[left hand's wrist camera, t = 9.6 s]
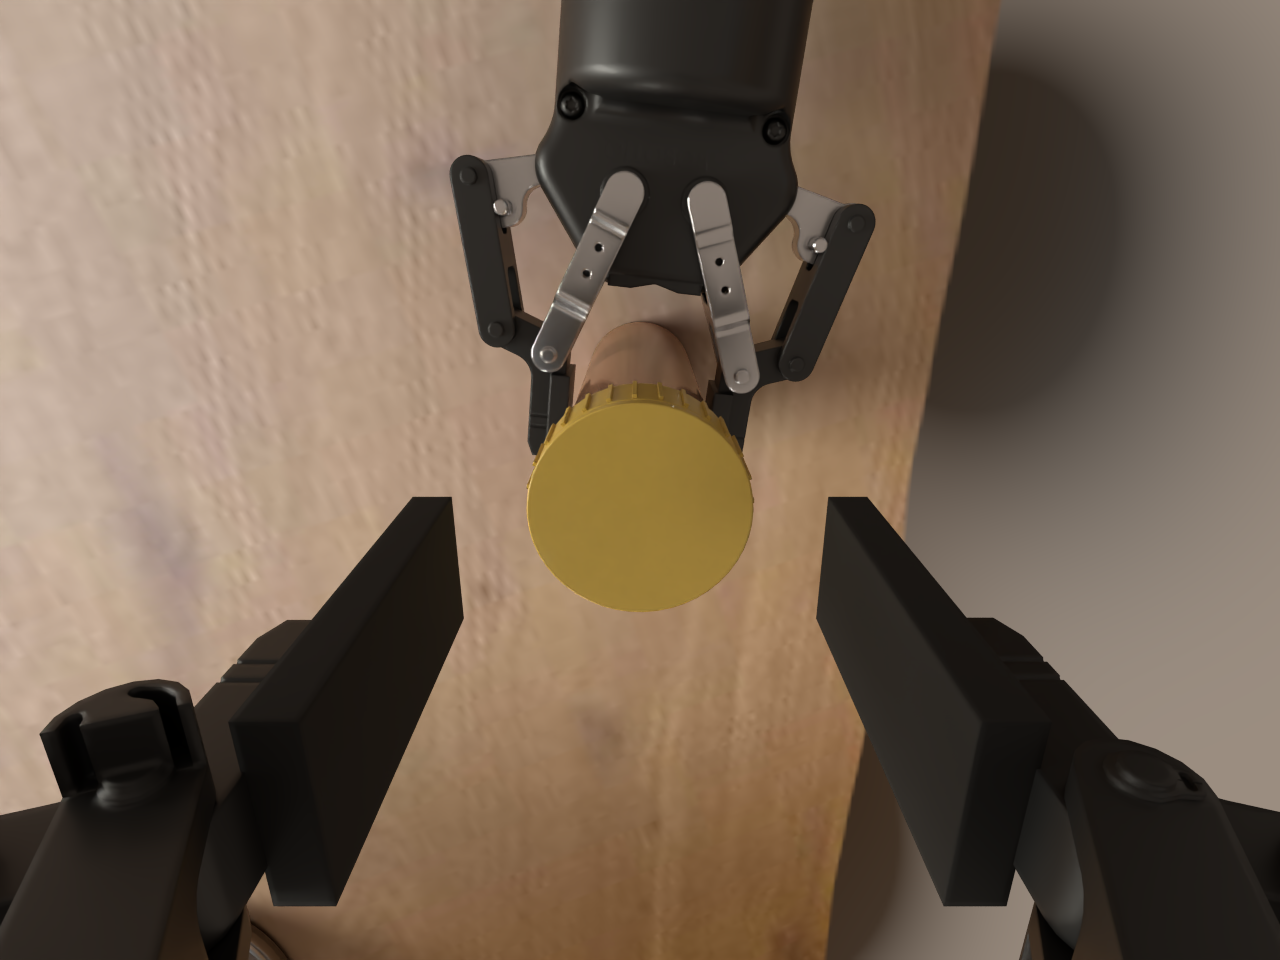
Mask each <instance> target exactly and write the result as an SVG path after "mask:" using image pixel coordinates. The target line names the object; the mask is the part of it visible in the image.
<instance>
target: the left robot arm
mask: <svg viewBox="0 0 1280 960" xmlns="http://www.w3.org/2000/svg"><path fill="white" fill-rule="evenodd" d="M463 619H464V616H463V606H462V596H461V586H460V576H459V566H458V556H457V546H456V536H455V526H454V516H453V506H452V497H412V499H411V500H410V501H409V502H408V503H407V505H406V506H405V507H404V508H403V510H402V511H401V512H400V513H399V514H398V516H397V517H396V518H395V519H394V520H393V522H392V523H391V524H390V525H389V527H388V528H387V529H386V530H385V531H384V533H383V534H382V535H381V536H380V537H379V539H378V540H377V541H376V542H375V544H374V545H373V546H372V547H371V548H370V550H369V551H368V552H367V553H366V555H365V556H364V557H363V558H362V559H361V561H360V562H359V563H358V564H357V565H356V567H355V568H354V569H353V570H352V572H351V573H350V574H349V575H348V576H347V578H346V579H345V580H344V581H343V582H342V584H341V585H340V586H339V587H338V589H337V590H336V591H335V592H334V593H333V595H332V596H331V597H330V598H329V599H328V601H327V602H326V603H325V604H324V606H323V607H322V608H321V609H320V610H319V612H318V613H317V614H316V615H315V617H314V618H313V619H312V620H286V621H285V622H283V623H282V624H280V625H278V626H277V627H275V628H273V629H272V630H270V631H269V632H267V633H265V634H264V635H262V636H260V637H259V638H257V639H256V640H255V641H254V642H253V644H252V645H251V646H250V647H249V648H248V649H247V650H246V651H245V652H244V653H243V654H242V656H241V657H240V658H239V659H238V660H237V661H238V662H237V664H233V665H232V666H231V668H230V669H229V670H228V671H227V672H226V673H225V674H224V675H223V676H222V677H221V682H220V683H216V684H215V685H214V686H213V687H212V688H211V689H210V690H209V692H208V693H207V694H206V695H205V696H204V697H203V698H202V699H201V700H200V701H199V702H198V704H197V705H196V706H195V707H194V706H193V703H192V699H191V695H190V691H189V690H188V689H187V688H185V687H184V686H183V685H181V684H180V683H179V682H174V681H168V680H161V679H155V680H145V681H135V682H131V683H127V684H123V685H120V686H116V687H113V688H109V689H105V690H103V691H101V692H99V693H96V694H94V695H92V696H90V697H87V698H85V699H83V700H81V701H78V702H77V703H75V704H74V705H72V706H71V707H69V708H68V709H66V710H65V711H63V712H62V713H60V714H59V715H57V716H56V717H54V718H53V720H52V721H51V722H50V723H49V724H48V725H47V726H46V727H45V728H44V729H43V731H42V732H41V733H40V737H41V739H42V742H43V745H44V748H45V750H46V753H47V756H48V759H49V761H50V764H51V767H52V770H53V772H54V775H55V778H56V781H57V783H58V786H59V789H60V792H61V794H62V797H63V798H62V800H61V802H58V803H54V804H50V805H45V806H41V807H36V808H32V809H27V810H23V811H18V812H13V813H9V814H4V815H0V960H288V959H287V958H286V956H285V955H284V954H283V952H282V951H281V950H280V948H279V947H278V946H277V945H276V944H275V943H274V942H273V941H272V940H271V939H270V938H269V937H268V936H267V935H266V934H264V933H263V932H262V931H261V930H259V929H258V928H257V927H255V926H254V925H252V924H251V923H250V917H249V913H248V909H247V906H246V904H247V902H248V900H249V898H250V897H251V895H252V893H253V891H254V890H255V888H256V886H257V884H258V883H259V881H260V879H261V877H262V876H263V874H264V872H265V873H266V878H267V882H268V886H269V890H270V894H271V898H272V902H273V906H337V903H338V901H339V899H340V896H341V894H342V892H343V890H344V887H345V885H346V883H347V881H348V878H349V876H350V874H351V872H352V869H353V867H354V865H355V863H356V860H357V858H358V856H359V854H360V851H361V849H362V847H363V845H364V842H365V840H366V838H367V836H368V833H369V831H370V829H371V827H372V824H373V822H374V820H375V818H376V815H377V813H378V811H379V808H380V806H381V804H382V802H383V799H384V797H385V795H386V793H387V790H388V788H389V786H390V784H391V781H392V779H393V777H394V775H395V772H396V770H397V768H398V766H399V763H400V761H401V759H402V757H403V754H404V752H405V750H406V748H407V745H408V743H409V741H410V739H411V736H412V734H413V732H414V730H415V727H416V725H417V723H418V721H419V718H420V716H421V714H422V711H423V709H424V707H425V705H426V702H427V700H428V698H429V696H430V693H431V691H432V689H433V687H434V684H435V682H436V680H437V678H438V675H439V673H440V671H441V669H442V666H443V664H444V662H445V660H446V657H447V655H448V653H449V651H450V648H451V646H452V644H453V642H454V639H455V637H456V635H457V633H458V630H459V628H460V626H461V623H462V621H463ZM816 619H817V621H818V624H819V626H820V628H821V630H822V633H823V635H824V637H825V639H826V642H827V644H828V646H829V648H830V651H831V653H832V655H833V657H834V660H835V662H836V664H837V666H838V669H839V671H840V673H841V675H842V678H843V680H844V682H845V684H846V687H847V689H848V691H849V693H850V696H851V698H852V700H853V702H854V705H855V707H856V709H857V711H858V714H859V716H860V718H861V721H862V723H863V725H864V727H865V730H866V732H867V734H868V736H869V739H870V741H871V743H872V745H873V748H874V750H875V752H876V754H877V757H878V759H879V761H880V763H881V765H882V768H883V770H884V772H885V775H886V777H887V779H888V781H889V784H890V786H891V788H892V790H893V793H894V795H895V797H896V799H897V802H898V804H899V806H900V808H901V811H902V813H903V815H904V817H905V820H906V822H907V824H908V827H909V829H910V831H911V833H912V836H913V838H914V840H915V842H916V845H917V847H918V849H919V851H920V854H921V856H922V858H923V860H924V863H925V865H926V867H927V869H928V872H929V874H930V876H931V878H932V881H933V883H934V885H935V887H936V890H937V892H938V894H939V896H940V899H941V901H942V903H943V906H1007V902H1008V898H1009V894H1010V890H1011V885H1012V881H1013V878H1014V873H1015V869H1016V870H1017V872H1018V874H1019V875H1020V877H1021V879H1022V881H1023V882H1024V884H1025V886H1026V888H1027V889H1028V891H1029V893H1030V894H1031V896H1032V898H1033V900H1034V901H1035V902H1034V906H1033V909H1032V913H1031V917H1030V921H1029V924H1028V928H1027V932H1026V936H1025V939H1024V943H1023V947H1022V951H1021V955H1020V958H1019V960H1280V812H1277V811H1272V810H1268V809H1263V808H1259V807H1254V806H1250V805H1245V804H1241V803H1236V802H1231V801H1227V800H1223V799H1219V798H1218V797H1217V796H1216V794H1215V793H1214V792H1213V790H1212V789H1211V788H1210V787H1209V785H1208V784H1207V783H1206V781H1205V780H1204V779H1203V778H1202V777H1200V776H1199V775H1198V774H1197V773H1195V772H1194V771H1193V770H1191V769H1190V768H1189V767H1188V766H1186V765H1185V764H1184V763H1182V762H1181V761H1179V760H1177V759H1175V758H1173V757H1171V756H1169V755H1167V754H1165V753H1163V752H1161V751H1159V750H1157V749H1155V748H1152V747H1148V746H1145V745H1142V744H1139V743H1136V742H1132V741H1129V740H1121V739H1118V738H1117V737H1116V736H1115V735H1114V734H1113V733H1112V732H1111V730H1110V729H1109V728H1108V727H1107V726H1106V725H1105V724H1104V723H1103V722H1102V721H1101V720H1100V719H1099V717H1098V716H1097V715H1096V714H1095V713H1094V712H1093V711H1092V710H1091V709H1090V708H1089V707H1088V706H1087V704H1086V703H1085V702H1084V701H1083V700H1082V699H1081V698H1080V697H1079V696H1078V695H1077V694H1076V693H1075V691H1074V690H1073V689H1072V688H1071V687H1070V686H1069V685H1068V684H1067V683H1066V682H1065V681H1064V680H1060V675H1059V674H1058V673H1057V672H1056V671H1055V670H1054V669H1053V668H1052V667H1051V665H1049V663H1048V662H1044V661H1043V657H1042V656H1041V655H1040V654H1039V652H1038V651H1037V650H1036V649H1035V648H1034V647H1033V646H1032V645H1031V644H1030V643H1029V642H1028V641H1027V639H1026V638H1025V637H1024V636H1022V635H1021V634H1019V633H1017V632H1016V631H1014V630H1013V629H1011V628H1009V627H1008V626H1006V625H1004V624H1003V623H1001V622H999V621H998V620H996V619H994V618H966V617H965V615H964V614H963V613H962V612H961V610H960V609H959V608H958V607H957V606H956V604H955V603H954V602H953V601H952V599H951V598H950V597H949V596H948V595H947V593H946V592H945V591H944V590H943V589H942V587H941V586H940V585H939V584H938V582H937V581H936V580H935V579H934V578H933V576H932V575H931V574H930V573H929V572H928V570H927V569H926V568H925V567H924V565H923V564H922V563H921V562H920V561H919V559H918V558H917V557H916V556H915V555H914V553H913V552H912V551H911V550H910V548H909V547H908V546H907V545H906V544H905V542H904V541H903V540H902V539H901V537H900V536H899V535H898V534H897V533H896V531H895V530H894V529H893V528H892V527H891V525H890V524H889V523H888V522H887V520H886V519H885V518H884V517H883V516H882V514H881V513H880V512H879V511H878V510H877V508H876V507H875V506H874V505H873V503H872V502H871V501H870V500H869V499H868V497H828V506H827V516H826V526H825V536H824V546H823V556H822V566H821V576H820V586H819V596H818V606H817V616H816Z"/></svg>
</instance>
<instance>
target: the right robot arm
mask: <svg viewBox="0 0 1280 960" xmlns="http://www.w3.org/2000/svg"><path fill="white" fill-rule="evenodd" d="M812 4H813V0H561V16H560V32H559V48H558V64H557V80H556V96H555V108H554V114H553V117H552V121H551V124H550V126H549V128H548V131H547V133H546V134H545V136H544V138H543V139H542V141H541V142H540V144H539V146H538V149H537V151H536V154H534V155H526V156H518V157H510V158H502V159H494V160H483V159H480V158H477V157H475V156H472V155H463V156H460V157H458V158H457V159H456V160H455V161H454V162H453V163H452V165H451V168H450V181H451V186H452V192H453V197H454V202H455V208H456V213H457V218H458V223H459V229H460V234H461V239H462V245H463V250H464V255H465V261H466V266H467V271H468V277H469V282H470V287H471V292H472V298H473V303H474V308H475V314H476V319H477V324H478V330H479V334H480V336H481V338H482V340H483V341H484V342H485V343H486V344H488V345H490V346H492V347H502V348H504V349H506V350H508V351H510V352H512V353H514V354H516V355H518V356H520V357H521V358H523V359H524V360H525V361H526V363H527V364H528V366H529V368H530V371H531V393H530V409H529V427H528V444H529V447H530V449H531V452H532V455H537V453H538V451H539V448H540V446H541V444H544V441H545V439H546V437H547V435H548V432H549V430H550V428H551V426H552V424H553V423H554V424H555V425H556V424H557V423H558V422H559V420H560V419H561V418H562V417H563V416H564V414H565V411H566V409H567V408H568V407H569V406H570V407H571V408H572V404H573V392H574V380H575V367H576V365H574V364H570V358H571V350H572V348H573V346H574V344H575V341H576V339H577V337H578V335H579V333H580V331H581V329H582V327H583V325H584V323H585V321H586V319H587V317H588V315H589V313H590V310H591V308H592V306H593V304H594V302H595V300H596V298H597V296H598V294H599V292H600V290H601V288H602V286H603V284H604V282H608V285H611V286H619V287H628V288H633V287H639V286H645V285H652V284H656V285H659V286H661V287H664V288H666V289H669V290H671V291H674V292H676V293H680V294H689V295H697V296H701V298H702V303H703V307H704V311H705V315H706V319H707V322H708V326H709V330H710V335H711V339H712V344H713V348H714V353H715V357H716V362H717V370H716V376H715V381H713V380H709V381H708V388H707V395H706V403H707V406H708V408H709V409H710V410H711V411H712V412H713V413H714V414H715V415H716V416H717V417H718V418H719V417H720V416H721V417H722V418H723V419H724V422H725V424H726V426H727V429H728V431H729V433H730V435H731V436H733V435H735V437H736V439H737V442H738V444H739V446H740V449H741V451H743V445H744V438H745V434H746V428H747V422H748V416H749V410H750V404H751V400H752V397H753V395H754V394H755V392H756V391H757V390H758V389H759V388H761V387H762V386H764V385H767V384H770V383H774V382H778V381H783V380H789V381H795V382H796V381H801V380H804V379H805V378H807V377H808V376H809V375H810V374H811V372H812V371H813V368H814V366H815V364H816V362H817V359H818V357H819V355H820V352H821V350H822V348H823V345H824V343H825V341H826V339H827V336H828V334H829V332H830V329H831V327H832V325H833V323H834V320H835V318H836V316H837V313H838V311H839V309H840V306H841V304H842V302H843V300H844V297H845V295H846V293H847V290H848V288H849V286H850V283H851V281H852V279H853V277H854V274H855V272H856V270H857V267H858V265H859V263H860V260H861V258H862V256H863V254H864V251H865V249H866V247H867V244H868V242H869V240H870V237H871V235H872V233H873V231H874V228H875V216H874V213H873V211H872V210H871V209H870V208H869V207H868V206H866V205H864V204H855V203H848V204H842V203H840V202H837V201H834V200H832V199H829V198H827V197H824V196H821V195H819V194H816V193H814V192H811V191H808V190H806V189H803V188H801V187H798V180H797V175H796V172H795V169H794V166H793V163H792V158H791V151H790V138H791V130H792V124H793V118H794V112H795V106H796V100H797V94H798V88H799V82H800V76H801V70H802V64H803V58H804V52H805V46H806V40H807V34H808V28H809V22H810V16H811V10H812ZM538 187H541V188H542V190H543V191H544V193H545V195H546V197H547V198H548V200H549V202H550V204H551V205H552V207H553V209H554V211H555V212H556V214H557V216H558V218H559V219H560V221H561V223H562V225H563V227H564V228H565V230H566V232H567V234H568V235H569V237H570V239H571V241H572V242H573V244H574V246H575V248H576V251H575V254H574V256H573V258H572V260H571V262H570V264H569V267H568V269H567V271H566V273H565V275H564V277H563V280H562V282H561V284H560V286H559V288H558V290H557V293H556V295H555V298H554V301H553V303H552V305H551V308H550V310H549V312H548V314H547V316H546V318H545V321H544V322H543V321H541V320H539V319H537V318H535V317H533V316H531V315H529V314H527V313H525V312H524V308H523V302H522V296H521V290H520V284H519V278H518V272H517V265H516V259H515V253H514V247H513V241H512V235H511V229H510V227H514V226H517V225H519V224H520V223H521V222H522V221H523V220H524V218H525V216H526V213H527V200H528V197H529V195H530V194H531V192H532V191H533V190H534V189H536V188H538ZM785 217H787V218H788V219H789V220H790V221H791V223H792V225H793V228H794V237H793V241H792V250H793V253H794V255H795V256H796V257H797V258H798V259H799V260H801V261H803V263H802V265H801V268H800V270H799V273H798V275H797V278H796V280H795V283H794V285H793V287H792V290H791V292H790V295H789V297H788V300H787V302H786V305H785V307H784V310H783V312H782V314H781V317H780V319H779V322H778V324H777V327H776V329H775V332H774V334H773V336H772V339H771V340H770V341H766V342H762V343H758V344H753V339H752V334H751V329H750V316H749V310H748V305H747V300H746V295H745V290H744V286H743V281H742V276H741V271H740V266H741V264H742V263H743V262H744V261H745V260H746V259H747V258H748V257H749V256H750V255H751V254H752V253H753V251H754V250H755V249H756V248H757V247H758V246H759V245H760V244H761V243H762V242H763V241H764V239H765V238H766V237H767V236H768V235H769V234H770V233H771V232H772V231H773V230H774V229H775V228H776V226H777V225H778V224H779V223H780V222H781V221H782V220H783V219H784V218H785Z"/></svg>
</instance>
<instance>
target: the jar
mask: <svg viewBox="0 0 1280 960" xmlns="http://www.w3.org/2000/svg"><path fill="white" fill-rule="evenodd" d="M633 381H637V383H645V384H656V385H657V383H658V382H660V383H662V386H666V387H670V388H673V389H676V390H679V391H681V389H684V390H685V391H686V394H688V395H690V396H692V397H693V398H695V399H697V400H698V401H700V402H702V401H703V398H702V395H701V392H700V390H699V387H698V384H697V381H696V378H695V375H694V373H693V370H692V367H691V364H690V361H689V358H688V356H687V353H686V351H685V349H684V347H683V345H682V344H681V342H680V341H679V340H678V339H677V338H676V336H675V335H673V334H672V333H671V332H670V331H668V330H667V329H665V328H663V327H661V326H659V325H656V324H653V323H648V322H632V323H627V324H624V325H621V326H619V327H617V328H615V329H613V330H612V331H610V332H609V333H608V334H607V335H606V336H605V337H603V339H602V340H601V341H600V342H599V344H598V345H597V347H596V349H595V351H594V353H593V355H592V358H591V361H590V364H589V367H588V370H587V372H586V375H585V378H584V381H583V384H582V387H581V389H580V392H579V395H578V398H577V401H576V404H578V403H579V402H580V401H582V400H583V399H585V396H586V394H588V393H590V394H591V395H592V394H594V393H596V392H599V391H601V390H604V389H607V388H608V385H611V384H613V387H614V386H619V385H623V384H633ZM576 404H575V405H576Z"/></svg>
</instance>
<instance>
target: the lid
mask: <svg viewBox="0 0 1280 960" xmlns="http://www.w3.org/2000/svg"><path fill="white" fill-rule="evenodd" d="M743 457H744V455H743V453H742V451H741V449H740V446H739V444H738V442H737V439H736V437H735V435H733V436H731V435H730V433H729V431H728V429H727V426H726V424H725V422H724V419H723V418H722V417H721V416H720V417H719V418H718V417H717V416H716V415H715V414H714V413H713V412H712V411H711V410H710V409H709V408H708V406H707V403H706V402H705V401H702V402H700V401H698V400H697V399H695V398H693V397H692V396H690V395H688V394H686V391H685V390H684V389H681V391H679V390H676V389H673V388H670V387H666V386H662V383H660V382H658V383H657V385H656V384H645V383H637V381H633V384H623V385H619V386H614V387H613V384H611V385H608V388H607V389H604V390H601V391H599V392H596V393H594V394H592V395H591V394H590V393H588V394H586V396H585V399H583V400H582V401H580V402H579V403H578V404H576V405H575V406H573V407H572V408H571V407H570V406H569V407H568V408H567V409H566V411H565V414H564V416H563V417H562V418H561V419H560V420H559V422H558V423H557V424H556V425H555V424H554V423H553V424H552V426H551V428H550V430H549V432H548V435H547V437H546V439H545V441H544V444H541V446H540V448H539V451H538V453H537V455H536V458H535V460H534V462H533V466H535V468H534V470H533V472H532V475H531V477H530V479H529V482H528V484H527V489H528V496H527V519H528V525H529V530H530V534H531V537H532V540H533V543H534V545H535V547H536V549H537V552H538V554H539V556H540V557H541V559H542V560H543V562H544V563H545V565H546V566H547V568H548V569H549V570H550V571H551V572H552V573H553V575H554V576H555V577H556V578H557V579H558V580H559V581H560V582H561V583H563V584H564V585H565V586H566V587H567V588H569V589H570V590H572V591H573V592H574V593H576V594H577V595H579V596H581V597H583V598H585V599H587V600H588V601H591V602H593V603H596V604H598V605H601V606H604V607H608V608H611V609H615V610H622V611H629V612H649V611H659V610H664V609H669V608H673V607H676V606H679V605H682V604H685V603H687V602H689V601H691V600H693V599H696V598H697V597H699V596H701V595H702V594H704V593H706V592H707V591H709V590H710V589H711V588H713V587H714V586H715V585H716V584H718V583H719V582H720V581H721V580H722V579H723V578H724V577H725V576H726V575H727V574H728V573H729V571H730V570H731V569H732V567H733V566H734V565H735V563H736V562H737V561H738V559H739V557H740V555H741V553H742V552H743V550H744V548H745V545H746V543H747V540H748V538H749V534H750V530H751V526H752V519H753V503H754V498H753V494H752V489H751V484H750V480H751V479H752V478H751V474H750V472H749V470H748V468H747V465H746V463H745V461H744V458H743Z"/></svg>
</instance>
